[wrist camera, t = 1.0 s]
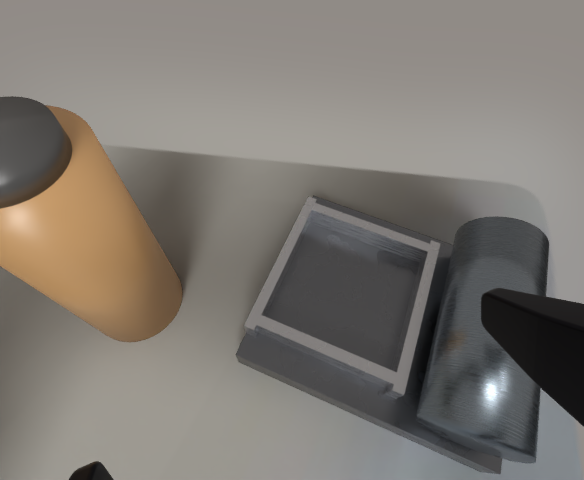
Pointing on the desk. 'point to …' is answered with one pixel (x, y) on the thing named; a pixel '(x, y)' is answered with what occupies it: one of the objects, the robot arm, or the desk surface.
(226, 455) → the desk surface
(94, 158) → the bottle
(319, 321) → the motor mount
